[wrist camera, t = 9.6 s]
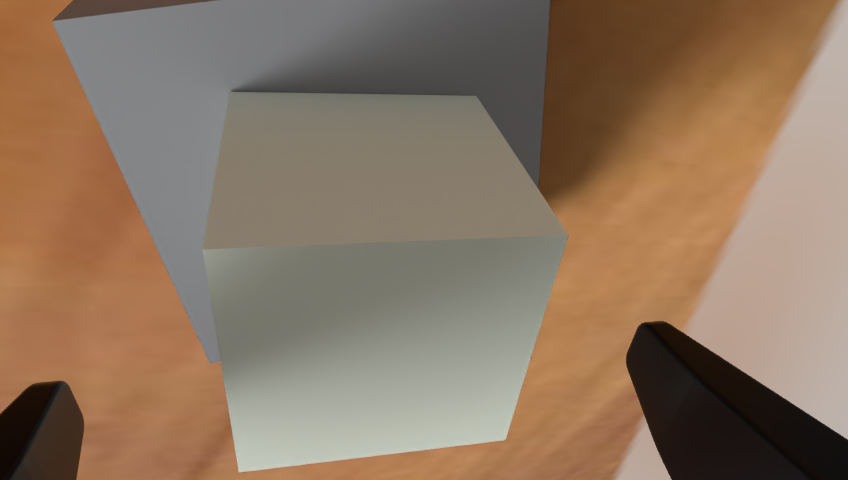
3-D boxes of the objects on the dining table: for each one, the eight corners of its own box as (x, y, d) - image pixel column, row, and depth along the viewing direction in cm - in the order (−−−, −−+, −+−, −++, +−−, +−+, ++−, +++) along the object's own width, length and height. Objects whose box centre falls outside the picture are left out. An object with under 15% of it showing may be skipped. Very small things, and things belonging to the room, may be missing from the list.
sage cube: (476, 95, 12) (569, 235, 8) (447, 275, 15) (505, 440, 11) (229, 91, 11) (202, 249, 7) (250, 286, 14) (239, 472, 10)
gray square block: (491, -77, 14) (552, -43, 11) (491, 220, 19) (531, 300, 16) (107, -32, 13) (51, 20, 10) (221, 268, 18) (210, 363, 15)
